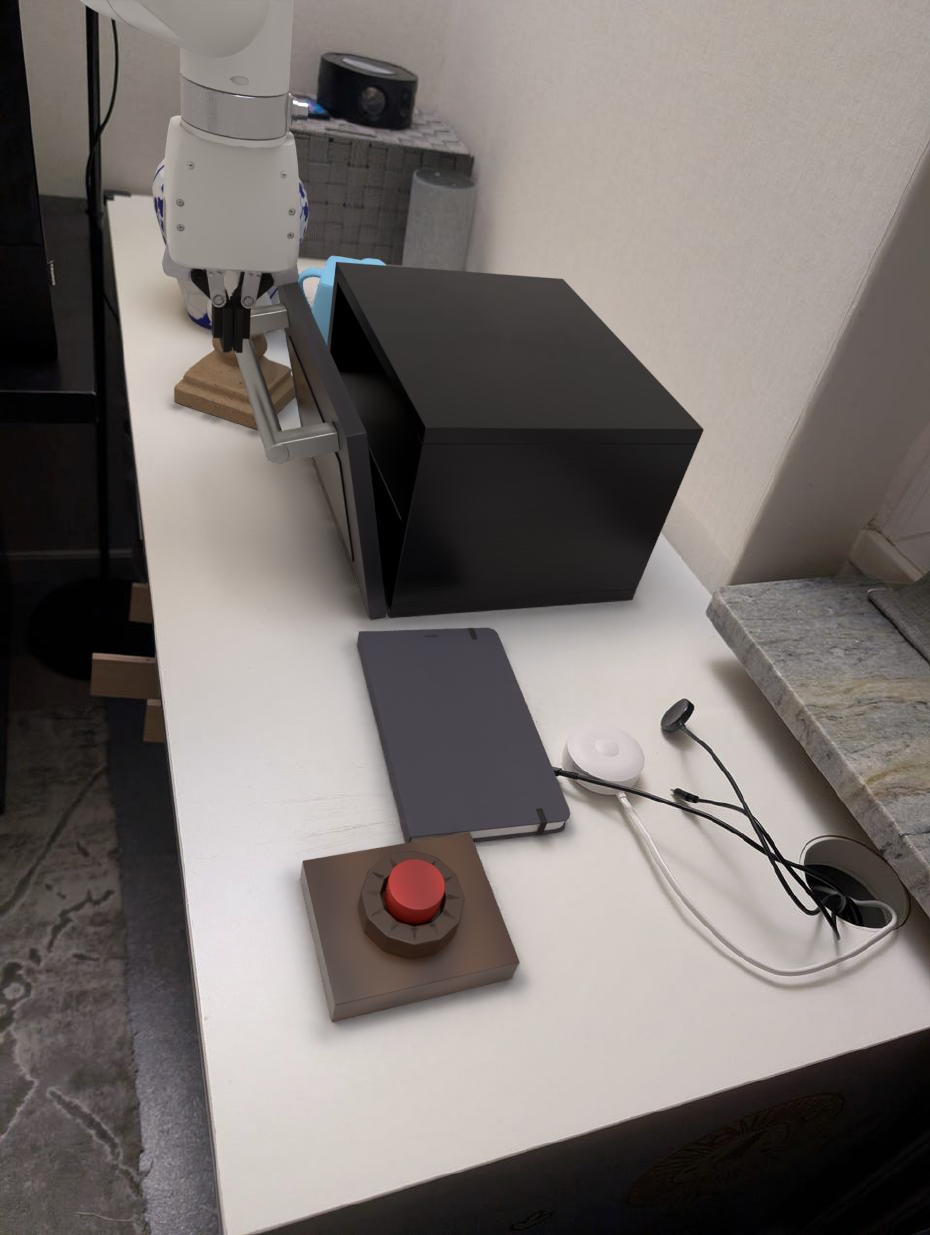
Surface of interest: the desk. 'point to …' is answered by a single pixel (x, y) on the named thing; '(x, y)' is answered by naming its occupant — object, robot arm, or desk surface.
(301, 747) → the desk surface
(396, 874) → the button
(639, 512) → the oven
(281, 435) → the oven door
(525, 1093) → the desk surface
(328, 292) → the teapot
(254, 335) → the candle holder
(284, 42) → the robot arm
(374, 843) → the desk surface
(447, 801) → the notebook
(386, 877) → the control block
